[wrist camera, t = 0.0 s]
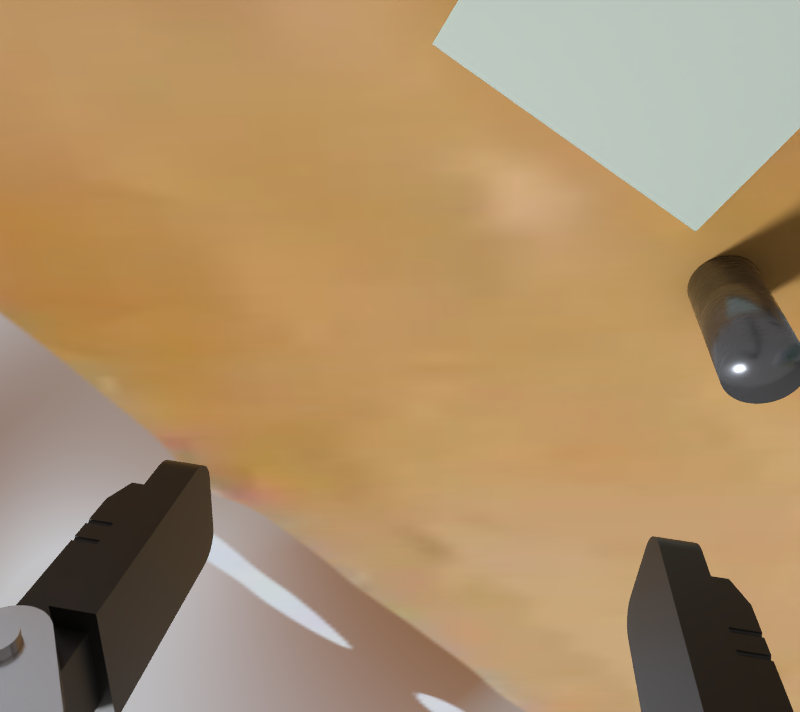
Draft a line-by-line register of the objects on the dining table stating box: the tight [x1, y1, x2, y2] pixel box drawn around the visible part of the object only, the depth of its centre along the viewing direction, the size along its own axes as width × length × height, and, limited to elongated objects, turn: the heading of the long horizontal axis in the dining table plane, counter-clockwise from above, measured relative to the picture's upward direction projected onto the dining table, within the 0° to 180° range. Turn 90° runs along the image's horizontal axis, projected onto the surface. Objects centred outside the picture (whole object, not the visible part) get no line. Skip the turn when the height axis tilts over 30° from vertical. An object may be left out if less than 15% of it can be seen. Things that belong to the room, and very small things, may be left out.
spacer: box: [688, 256, 800, 404], centre depth 30 cm, size 3×3×7 cm
